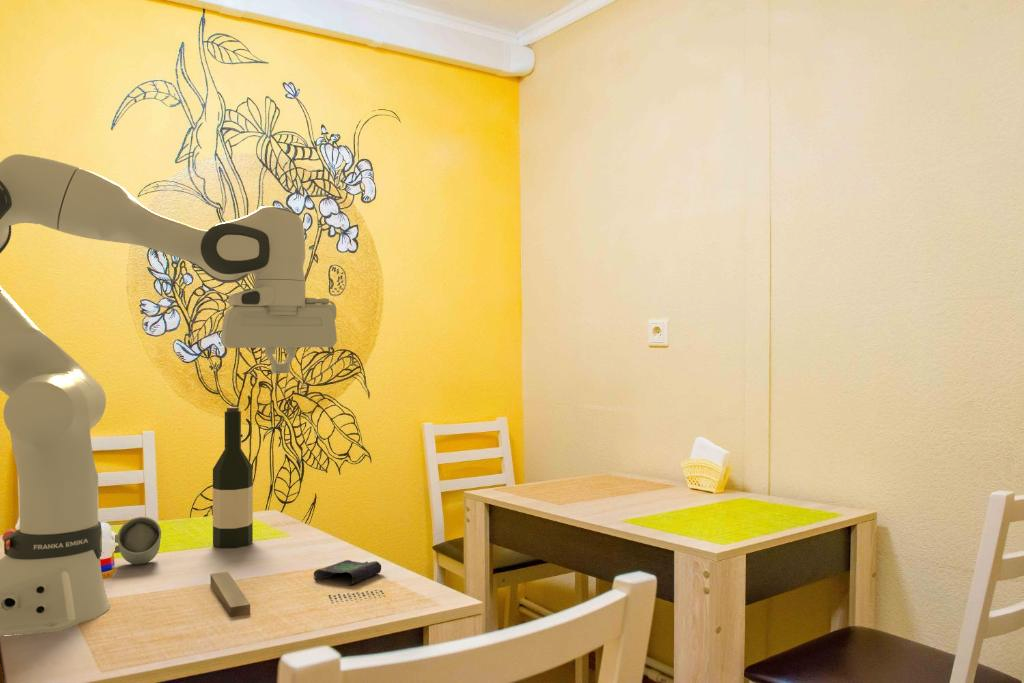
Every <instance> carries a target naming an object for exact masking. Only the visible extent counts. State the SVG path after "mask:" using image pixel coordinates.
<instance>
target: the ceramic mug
mask: <svg viewBox="0 0 1024 683" xmlns="http://www.w3.org/2000/svg"><path fill="white" fill-rule="evenodd" d="M114 535H115V543H116V544H118V545H115V546H116V547H115V551H114V553H113V554H119V553H120V555H121V556H122V558H123V560H125V561H126V562H127V563H128V564H131V565H137V566H138V565H144V564H147V563H149V562H151V561H153V559H154V558H155V557H156V556H157V555H158V553H159V550H160V547H161V539H162V538H161V537H162V529H161V526H160V524H159V523H158V522H157V521H156V520H154V519H153V518H152V517H151V518H150V517H147V516H138V517H133V518H131V519H128V521H126V522H125V523H123V525H122V526H121V527H120V528H119V530H118V532H117V534H114ZM115 543H114V544H115Z"/></svg>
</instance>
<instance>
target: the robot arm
mask: <svg viewBox="0 0 1024 683" xmlns="http://www.w3.org/2000/svg"><path fill="white" fill-rule="evenodd" d="M303 223H304V222H303V221H302V219H301V217H300V216H299V215H298V214H297V213H296V212H294V211H292V210H289V209H287V208H285V207H279V206H270V205H265V206H260V207H259V208H258V209H257V210H255V211H254V212H252V213H249V214H248V215H245V216H243V217H240V218H238V219H234V220H230V221H225V222H221V223H218V224H215V225H213V226H212V227H210V228H209V229H201V228H200V229H199V228H196V227H193V226H191V225H189V224H186V223H182V222H180V221H177V220H174V219H172V218H168V217H165V216H162V215H160V214H158V213H155V212H153V210H152V211H151V209H148V208H147V207H145V206H144V205H142V203H140V202H139V201H138V200H137V199H136V198H134V196H132V195H131V194H130V193H129V192H128V191H127V190H126V189H125V188H124V187H122V186H121V185H119V184H117V183H116V182H114V181H112V180H109V179H108V178H106V177H105V176H103V175H100V174H99V173H98V174H97V173H95V172H93V171H90V170H87V169H84V168H81V167H79V166H74V165H72V164H68V163H65V162H62V161H58V160H54V159H48V158H45V157H40V156H34V155H26V154H22V153H21V154H17V153H16V154H11V155H9V156H6V157H5V158H4V159H2V160H1V161H0V254H1V253H2V252H3V251H4V250H5V249H6V247H7V246H8V244H9V242H10V239H11V236H12V226H15V225H18V224H34V225H41V226H43V227H47V228H49V229H52V230H56V231H58V232H62V233H65V234H68V235H73V236H76V237H81V238H85V239H89V240H97V241H106V242H112V243H113V242H114V243H119V244H120V243H123V244H129V245H135V246H140V247H144V248H147V249H151V250H153V251H157V252H160V253H163V254H165V255H169V256H172V257H175V258H178V259H180V260H184V261H185V262H186V261H187V262H189V263H191V264H193V265H195V266H197V268H199V269H200V270H201V271H202V272H204V274H206V275H207V276H208V277H209V278H211V279H213V280H215V281H216V282H220V283H223V284H224V283H225V284H231V283H238V282H240V281H242V280H245V278H247V277H248V276H249V275H253V276H254V287H253V288H246V289H244V290H242V291H239V292H234V293H232V294H230V295H229V296H228V302H227V303H228V306H230V307H229V308H228V309H227V310H226V311H225V313H224V315H223V318H222V323H221V324H222V325H221V326H222V327H221V332H220V333H221V341H220V342H221V344H222V346H224V348H227V349H264V355H265V356H266V358H267V360H268V361H269V363H270V364H271V373H272V374H290V371H291V370H290V369H291V368H290V367H291V366H290V364H291V363H292V361H293V360H294V358H295V356H296V354H297V349H298V348H333V347H334V346H335V345H336V344H337V341H338V340H337V330H336V329H337V328H336V326H337V325H336V322H335V321H336V319H337V306H336V304H335V303H334V302H333V301H331V300H330V299H329V298H326V297H325V298H324V297H322V298H321V297H320V298H317V297H316V298H315V297H306V278H305V274H304V264H305V260H306V238H305V230H304V229H305V228H304V224H303ZM276 348H277V349H278V348H283V349H284V348H285V354H288V355H286V358H285V360H284V362H277V360H276V359H275V356H274V355H275V354H276ZM0 391H1V392H2V393H3V394H5V395H7V397H8V398H7V400H6V401H5V403H4V408H3V413H2V414H3V419H4V420H3V421H4V424H5V426H6V428H7V430H8V431H9V435H10V442H11V446H12V452H13V458H14V461H15V465H16V471H17V478H18V487H19V488H18V489H19V490H18V491H19V492H18V493H19V496H18V497H19V498H18V499H19V504H18V505H19V507H18V508H19V528H18V529H17V530H16V529H14V528H9V529H6V530H5V532H3V533H2V534H3V535H2V537H1V538H2V541H3V551H4V552H3V553H4V556H3V557H2V558H1V559H0V636H4V635H15V634H16V635H17V634H27V635H32V634H31V633H37V634H44V633H43V632H46V633H55V632H54V631H56V632H62V630H63V631H66V630H68V629H71V628H73V627H75V626H76V625H78V624H82V623H84V622H88V621H90V620H93V619H95V618H98V617H100V616H102V615H103V614H105V613H106V612H107V611H108V610H109V609H110V608H111V605H110V602H109V599H108V596H107V593H106V592H107V591H106V589H105V584H104V580H103V574H102V566H101V565H102V564H101V556H102V553H103V552H102V538H103V529H102V523H101V522H100V521H99V474H98V471H97V468H96V464H95V459H94V458H95V457H94V454H93V453H94V452H93V448H92V447H93V445H92V439H91V438H92V437H91V429H93V428H94V427H95V426H96V425H97V424H98V423H99V422H100V421H101V419H102V418H103V415H104V413H105V410H106V404H107V399H106V398H107V397H106V394H105V390H104V388H103V387H102V385H101V384H100V383H99V382H98V381H97V380H96V379H95V378H94V377H93V376H92V375H90V374H89V372H87V370H85V369H84V368H83V367H82V366H81V365H80V364H79V363H78V362H77V360H75V359H74V358H73V357H72V356H70V354H68V353H67V352H66V351H65V350H64V349H62V347H60V346H59V345H58V344H57V343H56V342H55V341H54V340H52V339H51V338H50V337H49V336H48V335H47V334H46V333H45V332H43V331H42V330H41V329H40V327H38V326H37V325H36V324H35V322H34V321H33V320H32V319H31V318H30V317H29V316H28V315H27V313H26V312H25V311H24V310H23V309H22V308H21V307H20V306H19V304H18V303H17V302H16V301H15V300H14V299H13V298H12V296H11V295H9V294H8V293H7V292H6V290H5V289H4V288H3V287H2V286H1V285H0ZM74 625H75V626H74ZM72 626H73V627H72ZM70 627H71V628H70ZM51 631H52V632H51ZM28 633H29V634H28ZM17 636H18V635H17Z"/></svg>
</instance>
